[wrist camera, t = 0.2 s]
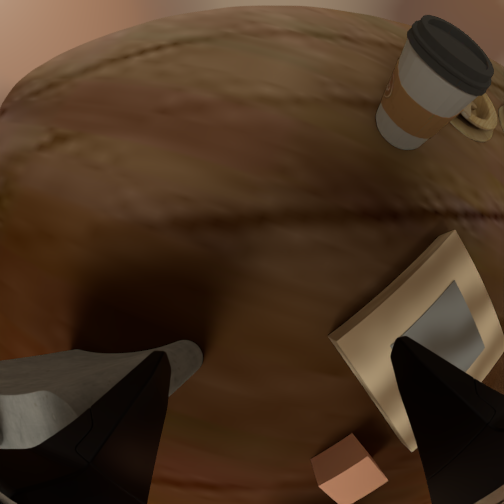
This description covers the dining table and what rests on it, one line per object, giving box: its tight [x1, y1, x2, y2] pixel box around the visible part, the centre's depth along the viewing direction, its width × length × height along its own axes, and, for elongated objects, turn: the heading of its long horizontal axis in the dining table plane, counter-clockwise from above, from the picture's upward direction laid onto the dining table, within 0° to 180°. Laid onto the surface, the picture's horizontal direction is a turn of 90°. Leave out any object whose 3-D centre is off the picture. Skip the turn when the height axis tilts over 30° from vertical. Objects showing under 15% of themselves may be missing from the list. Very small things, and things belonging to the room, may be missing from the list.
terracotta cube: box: [310, 433, 388, 504], centre depth 19 cm, size 5×5×5 cm
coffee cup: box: [376, 15, 494, 150], centre depth 19 cm, size 8×8×15 cm
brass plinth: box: [328, 230, 504, 452], centre depth 21 cm, size 16×16×3 cm
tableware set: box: [450, 93, 504, 142], centre depth 24 cm, size 30×20×6 cm, turn 84°
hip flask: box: [0, 340, 203, 449], centre depth 13 cm, size 16×4×20 cm, turn 101°
